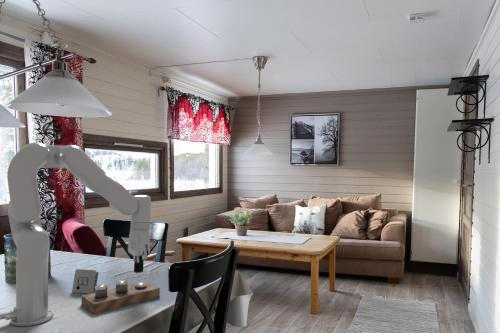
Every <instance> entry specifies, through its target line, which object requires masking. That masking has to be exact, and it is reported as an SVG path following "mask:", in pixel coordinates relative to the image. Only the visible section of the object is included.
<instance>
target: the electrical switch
mask: <svg viewBox="0 0 500 333" xmlns="http://www.w3.org/2000/svg"><path fill="white" fill-rule="evenodd" d="M98 279H99V272H98V271H97V270H96V269H84V268H83V269H82V268H77V269H75V273H74V277H73V282H72V288H71V289H72V290H71V291H72V293H78V294H91V293H95V286H96V285H98V284H97V283H98Z"/></svg>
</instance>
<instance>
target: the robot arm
mask: <svg viewBox="0 0 500 333" xmlns="http://www.w3.org/2000/svg"><path fill="white" fill-rule="evenodd" d="M41 168H44V169H45V168H46V169H51V168H52V169H66V170H67V171H68V172H69V173H70V174H71V175H72V176H74V177H75V178H76V179H77V180H78V181H79V182H80V183H81V184H83V185H84V186H85V187H86V188H87V189H88V190H90V191H91V192H94V193H95V194H97V195H99V196H101V197H102V198H104V199H105V200H106V201H107V202H109V208H110V210H111V211H112V212H114V213H115V214H118V215H123V216H127V217H128V216H130V230H129V235H128V242H127V252H128V254H130V255H132V257H133V263H134V264H133V272H134V273H136V274H139V273H143V272H144V262H145V260H147V259H148V256H149V255H150V251H151V235H150V234H151V233H150V230H151V210H152V207H151V206H152V198H151V196H150V195H145V194H137V195H132V193H131V192H130V191H129V190H127V189H126V188H125V187H124V186H123V185H122V184H121V182H118V181H117V180H116V179H115V178H113V177H112V176H111V175H110V174H108V173H107V172H106V171H105V170H104V169H102V167H101V166H99V165H98V164H97V163H96V162H95V161H94V159H92V158H91V157H90V156H89V155H88V154H87V153H86V152H85V151H84V150H83V149H82V148H80V147H79V146H78V145H74V144H67V145H49V144H44V143H42V142H29V143H27V144H25V145H23V146H22V147H21V148H20V150H19V151H17V153H16V154H15V155H14V156H13V157H12V159H11V160H10V162H9V164H8V168H7V172H6V175H7V176H6V177H7V178H6V179H7V187H8V195H9V201H8V203H7V215H8V220H9V226H10V231H11V236H12V241H13V243H14V245H15V246H16V260H15V290H16V291H15V294H16V295H15V306H14V307H13V309H11V310H9V311H8V312H1V313H0V321H2V320H5V321H9V320H10V324H12V325H13V326H17V327H30V326H35V325H39V324H40V325H41V324H42V323H46V322H48V321H49V320H51V319H52V318H53V317H54V312H53V310H52V309H49V253H50V241H51V240H50V237H49V234H48V232H47V231H46V230H45V229H44V228H43V227H42V222H41V215H42V212H43V206H42V202H41V197H40V192H39V185H38V173H39V170H40V169H41Z"/></svg>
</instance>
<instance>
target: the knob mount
mask: <svg viewBox="0 0 500 333" xmlns="http://www.w3.org/2000/svg"><path fill="white" fill-rule="evenodd" d="M143 282H146V288H143V289H136V288H135V283H132V284H128V292H126V293H122V294H118V293H116V287H114V288H108V289H107V297H106V298H101V299H97V298H95V292H93V293H91V294H88V293H86V294H83V295H81V297H80V298H81V304H80V305H81V306H82V307H83V308H84V309H87V310H88V311H89V312H91V313H92V314H93V315H96V313H97V314H101V313H104V312H106V311H107V312H108V311H111V310H115V309H119V308H122V307H126V306H130V305H133V304H138V303H141V302H145V301H149V300H153V299H156V298H160V295H161V291H160V289H161V288H160V287H158V286H156V285H155V284H152V283H149V282H148V281H143Z"/></svg>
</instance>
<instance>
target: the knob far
mask: <svg viewBox="0 0 500 333" xmlns="http://www.w3.org/2000/svg"><path fill="white" fill-rule="evenodd" d="M146 282H147V281H145V282H144V281H140V282H139V281H138V282H136V283H134V284H135V288H136V289H143V288H146Z"/></svg>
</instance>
